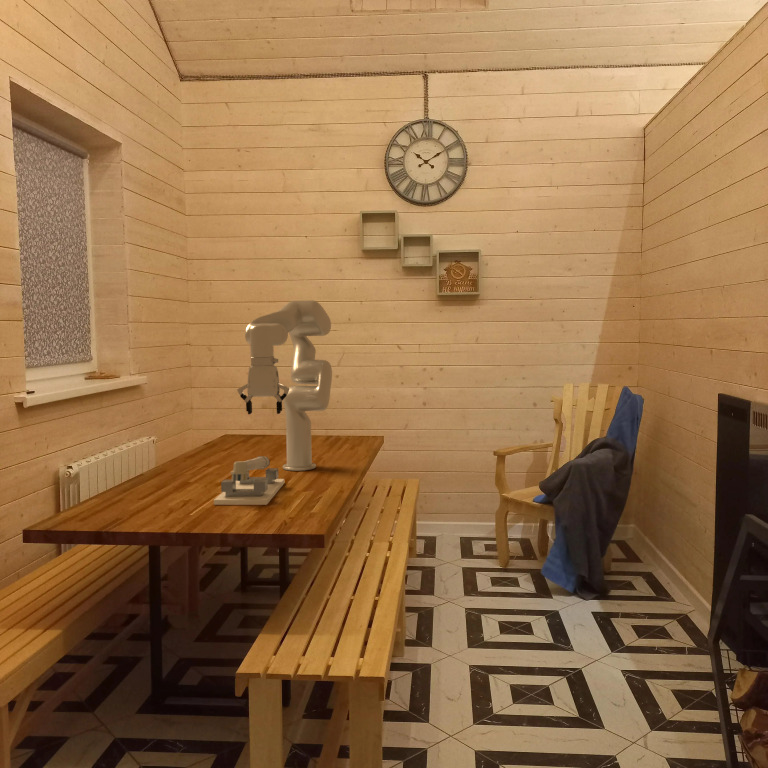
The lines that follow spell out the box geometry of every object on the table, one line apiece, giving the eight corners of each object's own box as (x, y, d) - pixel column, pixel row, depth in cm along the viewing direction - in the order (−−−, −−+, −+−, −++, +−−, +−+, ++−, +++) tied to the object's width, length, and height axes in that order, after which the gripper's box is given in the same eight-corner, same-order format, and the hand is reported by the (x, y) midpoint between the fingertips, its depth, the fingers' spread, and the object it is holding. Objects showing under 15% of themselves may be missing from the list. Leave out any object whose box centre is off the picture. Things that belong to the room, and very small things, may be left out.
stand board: (238, 483, 235) (238, 478, 235) (284, 483, 235) (284, 478, 235) (213, 504, 205) (213, 499, 205) (266, 504, 205) (266, 499, 205)
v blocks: (238, 481, 231) (238, 468, 231) (278, 481, 231) (278, 468, 230) (221, 496, 209) (221, 482, 209) (265, 496, 209) (264, 482, 208)
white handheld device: (272, 456, 231) (244, 459, 207) (271, 475, 231) (243, 481, 206) (257, 455, 232) (228, 458, 208) (256, 475, 232) (227, 480, 207)
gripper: (290, 361, 228) (292, 411, 231) (239, 361, 229) (241, 412, 231) (286, 362, 221) (288, 415, 223) (233, 363, 222) (235, 415, 224)
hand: (264, 413), depth 227 cm, fingers open, 9 cm apart
